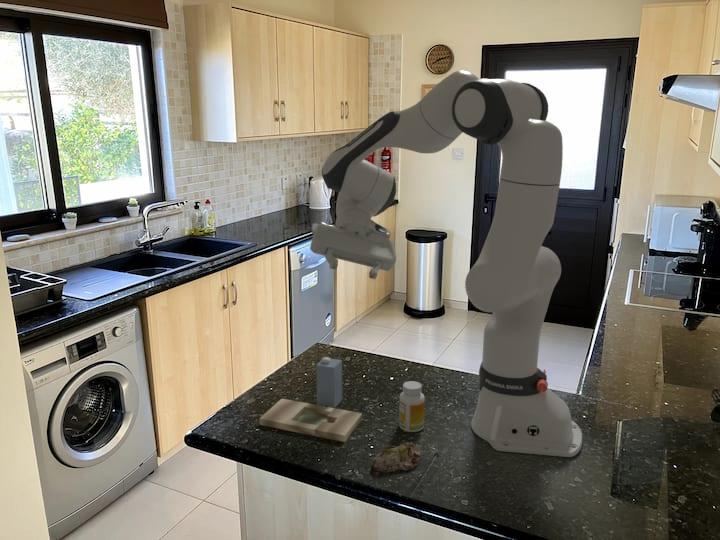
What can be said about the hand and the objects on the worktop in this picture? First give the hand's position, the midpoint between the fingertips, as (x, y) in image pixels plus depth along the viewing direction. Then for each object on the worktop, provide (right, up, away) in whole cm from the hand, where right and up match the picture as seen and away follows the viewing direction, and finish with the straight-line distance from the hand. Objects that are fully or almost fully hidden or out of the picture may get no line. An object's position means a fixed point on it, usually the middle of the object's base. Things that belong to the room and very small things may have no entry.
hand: (353, 272), depth 131 cm
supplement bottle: (+12, -33, -5) cm, 36 cm away
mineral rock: (+8, -37, -18) cm, 42 cm away
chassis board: (-9, -33, -3) cm, 34 cm away
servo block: (-6, -30, +6) cm, 31 cm away
